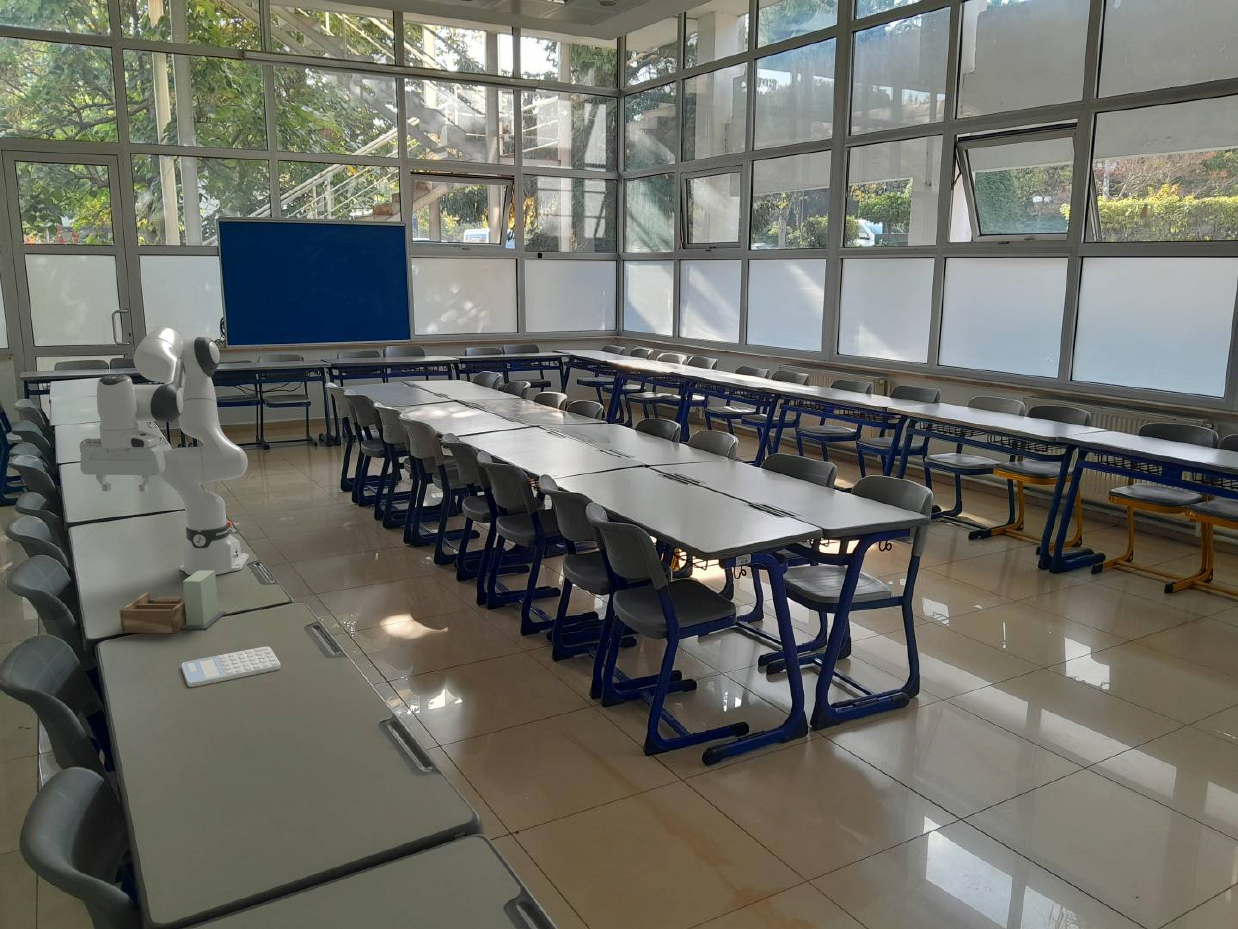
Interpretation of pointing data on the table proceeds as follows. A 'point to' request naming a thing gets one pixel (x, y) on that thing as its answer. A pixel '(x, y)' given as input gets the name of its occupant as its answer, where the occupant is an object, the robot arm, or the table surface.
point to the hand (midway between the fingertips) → (125, 491)
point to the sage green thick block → (200, 597)
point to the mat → (207, 625)
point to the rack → (152, 616)
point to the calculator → (229, 666)
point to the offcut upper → (168, 600)
